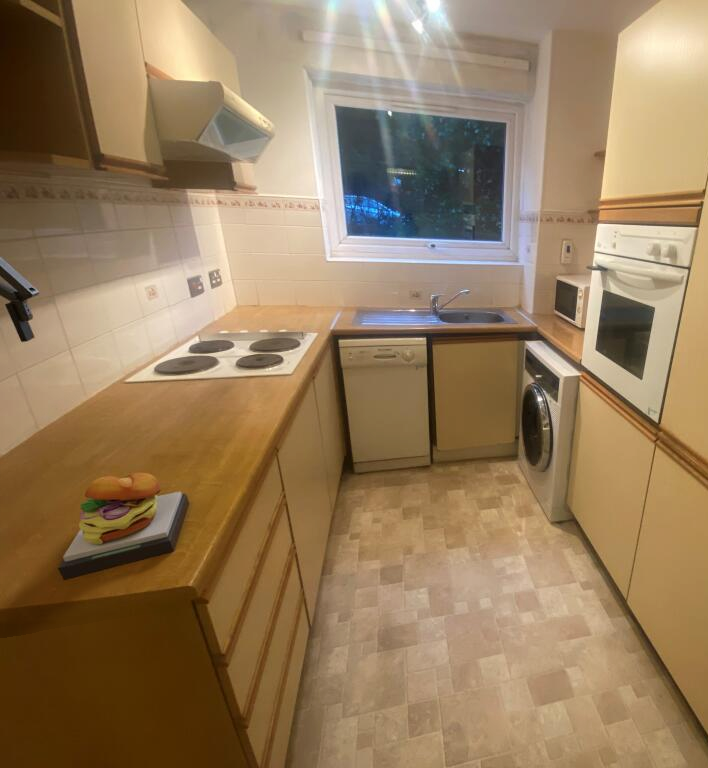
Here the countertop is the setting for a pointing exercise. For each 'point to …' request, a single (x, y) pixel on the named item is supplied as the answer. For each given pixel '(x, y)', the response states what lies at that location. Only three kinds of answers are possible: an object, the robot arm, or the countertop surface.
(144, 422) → the countertop surface
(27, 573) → the countertop surface
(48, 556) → the countertop surface
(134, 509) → the cheeseburger
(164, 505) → the kitchen scale
